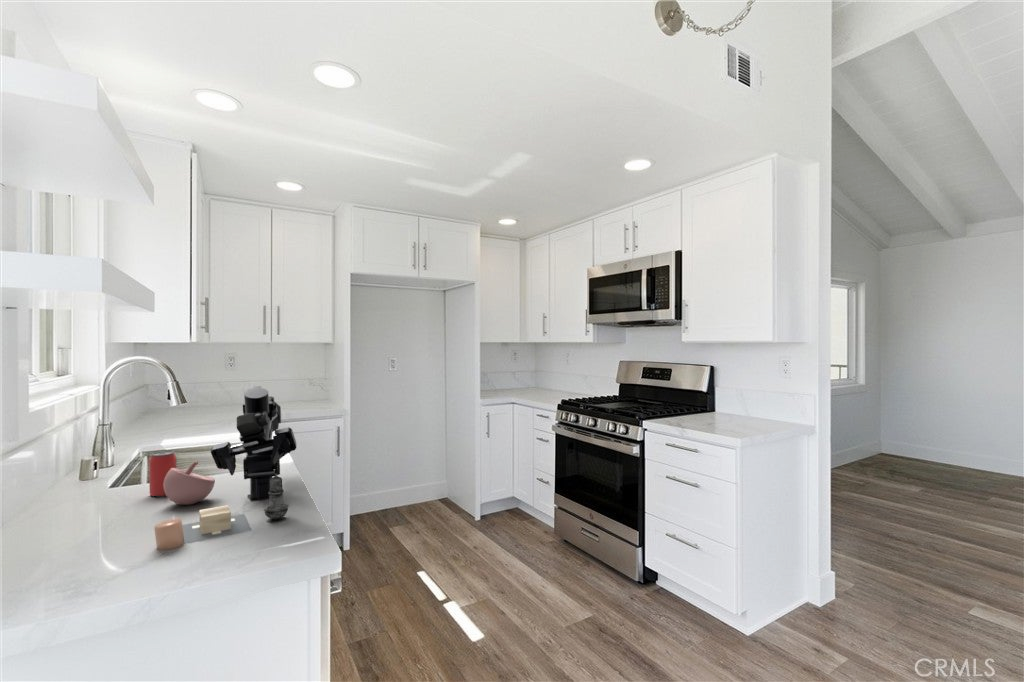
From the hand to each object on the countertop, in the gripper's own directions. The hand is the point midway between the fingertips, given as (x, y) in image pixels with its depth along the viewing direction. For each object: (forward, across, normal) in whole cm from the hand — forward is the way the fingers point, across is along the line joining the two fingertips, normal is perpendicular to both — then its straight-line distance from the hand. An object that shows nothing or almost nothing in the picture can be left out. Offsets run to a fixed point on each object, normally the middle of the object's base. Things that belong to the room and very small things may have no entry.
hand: (252, 468), depth 122 cm
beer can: (-30, -33, +23) cm, 50 cm away
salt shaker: (+4, +2, +15) cm, 16 cm away
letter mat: (+4, -11, +12) cm, 17 cm away
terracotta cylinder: (+11, -18, +7) cm, 22 cm away
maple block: (+4, -11, +11) cm, 16 cm away
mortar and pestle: (-18, -23, +20) cm, 35 cm away
